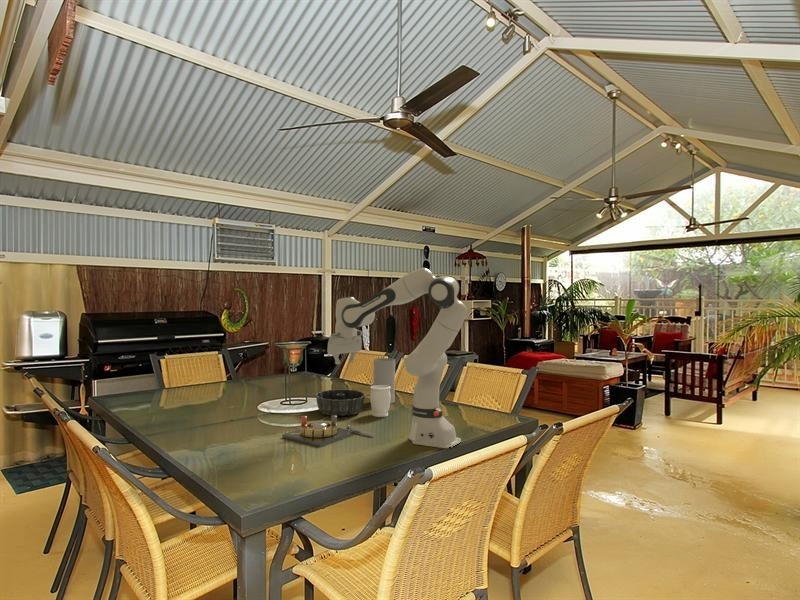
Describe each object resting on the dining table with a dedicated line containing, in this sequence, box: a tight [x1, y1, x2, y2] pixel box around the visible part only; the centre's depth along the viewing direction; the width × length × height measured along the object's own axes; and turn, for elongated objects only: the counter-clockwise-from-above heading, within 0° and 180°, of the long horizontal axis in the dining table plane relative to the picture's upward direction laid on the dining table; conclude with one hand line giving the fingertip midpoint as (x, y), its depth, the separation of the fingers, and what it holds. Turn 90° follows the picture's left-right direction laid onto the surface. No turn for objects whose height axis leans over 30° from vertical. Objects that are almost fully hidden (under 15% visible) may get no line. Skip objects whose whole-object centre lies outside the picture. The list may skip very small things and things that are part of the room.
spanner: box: [345, 424, 376, 438], centre depth 213 cm, size 16×3×3 cm, turn 57°
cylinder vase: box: [372, 357, 396, 405], centre depth 277 cm, size 12×12×25 cm
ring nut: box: [299, 415, 338, 438], centre depth 208 cm, size 16×16×7 cm
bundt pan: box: [314, 388, 367, 417], centre depth 251 cm, size 26×26×10 cm
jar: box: [369, 385, 391, 418], centre depth 247 cm, size 11×10×15 cm
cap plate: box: [281, 422, 355, 448], centre depth 208 cm, size 22×22×6 cm
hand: (344, 363), depth 216 cm, fingers open, 8 cm apart
